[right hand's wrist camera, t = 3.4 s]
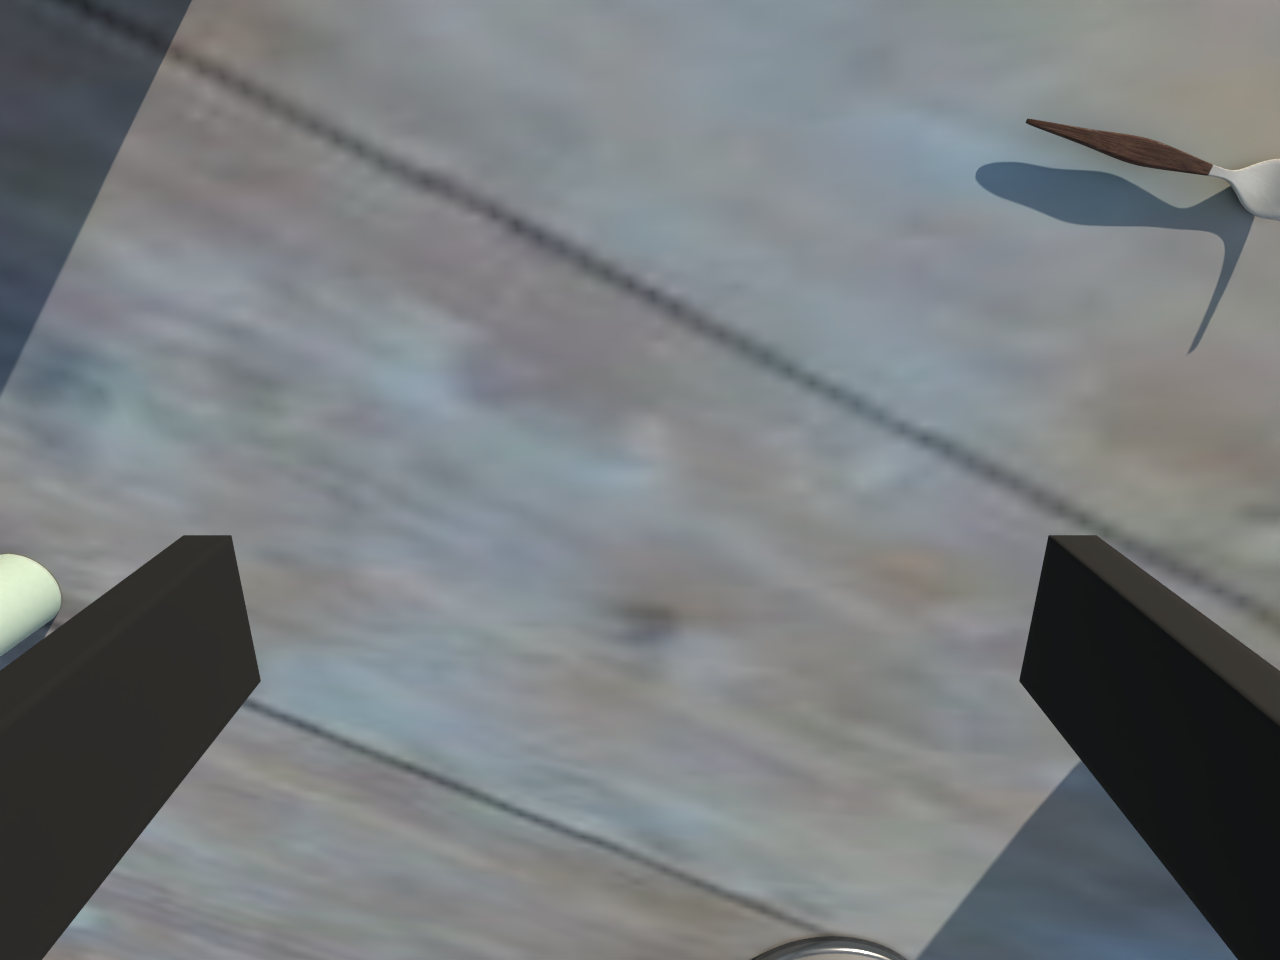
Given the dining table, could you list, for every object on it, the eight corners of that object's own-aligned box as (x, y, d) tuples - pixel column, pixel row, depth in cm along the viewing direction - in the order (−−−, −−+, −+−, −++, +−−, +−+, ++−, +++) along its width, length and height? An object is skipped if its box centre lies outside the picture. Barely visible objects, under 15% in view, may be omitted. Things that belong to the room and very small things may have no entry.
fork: (1032, 90, 35) (1054, 84, 33) (1347, 177, 36) (1386, 176, 34) (1010, 151, 36) (1030, 148, 34) (1318, 233, 37) (1355, 235, 35)
